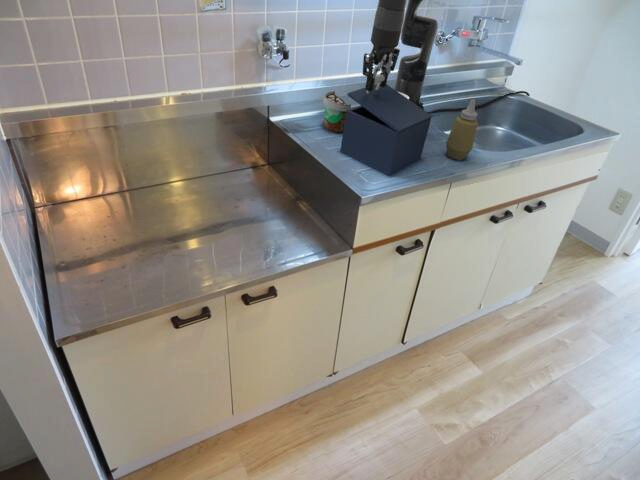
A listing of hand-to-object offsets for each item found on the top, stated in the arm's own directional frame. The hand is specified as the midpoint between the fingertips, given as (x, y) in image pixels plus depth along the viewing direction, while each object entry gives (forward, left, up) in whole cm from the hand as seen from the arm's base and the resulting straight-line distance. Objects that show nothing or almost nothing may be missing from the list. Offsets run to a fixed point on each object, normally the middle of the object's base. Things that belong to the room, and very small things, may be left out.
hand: (375, 88), depth 134 cm
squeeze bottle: (-20, +21, -19) cm, 35 cm away
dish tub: (0, +6, -19) cm, 20 cm away
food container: (-2, -16, -19) cm, 25 cm away
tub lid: (0, +6, -3) cm, 7 cm away
